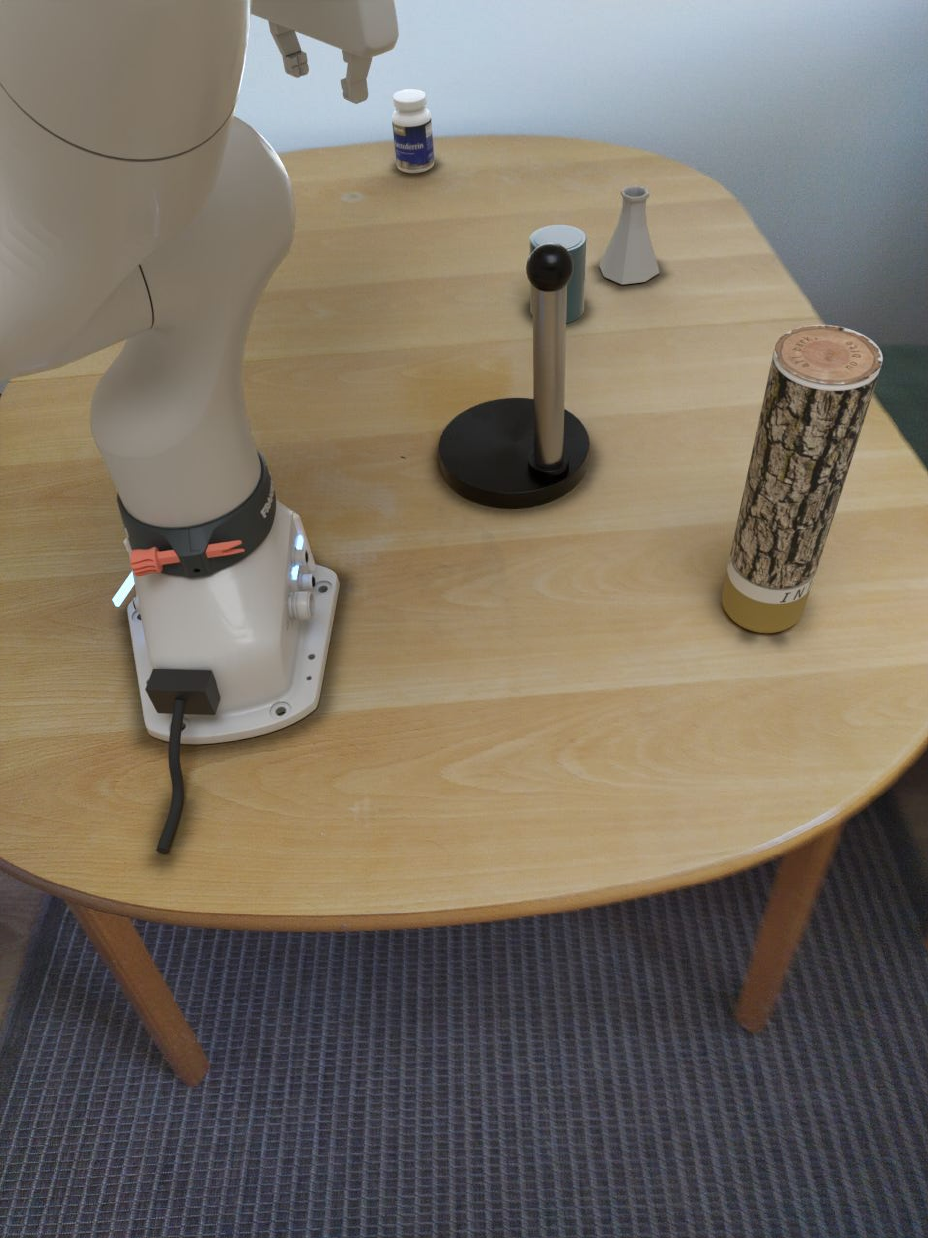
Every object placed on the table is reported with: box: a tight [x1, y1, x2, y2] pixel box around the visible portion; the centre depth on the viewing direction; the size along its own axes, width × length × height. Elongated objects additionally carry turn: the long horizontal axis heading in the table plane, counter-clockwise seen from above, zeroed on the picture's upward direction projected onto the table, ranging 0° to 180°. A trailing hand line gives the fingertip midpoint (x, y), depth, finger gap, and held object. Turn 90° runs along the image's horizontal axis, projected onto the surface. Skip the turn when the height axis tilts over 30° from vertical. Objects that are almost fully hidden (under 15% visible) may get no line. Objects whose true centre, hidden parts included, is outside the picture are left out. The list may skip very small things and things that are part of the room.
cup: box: [529, 224, 588, 325], centre depth 110 cm, size 6×6×9 cm
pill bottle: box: [391, 88, 435, 174], centre depth 138 cm, size 6×6×10 cm
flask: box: [598, 184, 660, 285], centre depth 114 cm, size 7×7×10 cm
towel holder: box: [438, 243, 590, 510], centre depth 86 cm, size 15×15×24 cm
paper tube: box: [721, 324, 884, 634], centre depth 71 cm, size 7×7×25 cm
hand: (326, 86), depth 87 cm, fingers open, 8 cm apart
